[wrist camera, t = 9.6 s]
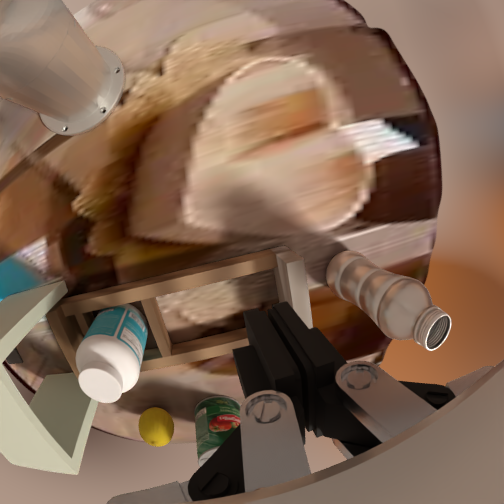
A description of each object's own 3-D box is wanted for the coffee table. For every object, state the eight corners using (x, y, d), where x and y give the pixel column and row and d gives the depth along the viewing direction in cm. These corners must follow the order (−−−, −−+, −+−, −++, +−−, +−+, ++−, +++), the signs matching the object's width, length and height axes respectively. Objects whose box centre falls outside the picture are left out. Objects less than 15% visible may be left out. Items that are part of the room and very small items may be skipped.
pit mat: (9, 363, 32) (8, 364, 32) (-9, 328, 31) (-9, 328, 30) (23, 361, 33) (22, 362, 33) (4, 325, 31) (4, 326, 31)
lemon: (144, 419, 40) (140, 453, 32) (138, 396, 38) (133, 432, 31) (175, 420, 41) (175, 455, 33) (172, 398, 39) (171, 434, 32)
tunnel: (51, 382, 35) (11, 463, 17) (8, 295, 30) (-65, 358, 12) (107, 376, 37) (77, 474, 18) (64, 280, 32) (-14, 354, 14)
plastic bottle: (321, 295, 40) (407, 375, 21) (319, 250, 38) (419, 309, 19) (359, 286, 41) (452, 351, 22) (359, 243, 39) (465, 290, 20)
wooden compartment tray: (89, 368, 35) (77, 396, 29) (57, 299, 32) (36, 321, 26) (296, 323, 40) (314, 347, 33) (284, 245, 36) (304, 258, 30)
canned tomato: (244, 395, 42) (258, 445, 31) (238, 425, 43) (250, 473, 33) (194, 394, 40) (198, 446, 30) (193, 425, 42) (197, 475, 31)
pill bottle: (94, 336, 35) (63, 396, 22) (104, 291, 34) (66, 344, 21) (142, 354, 37) (128, 420, 24) (155, 311, 36) (141, 372, 23)
